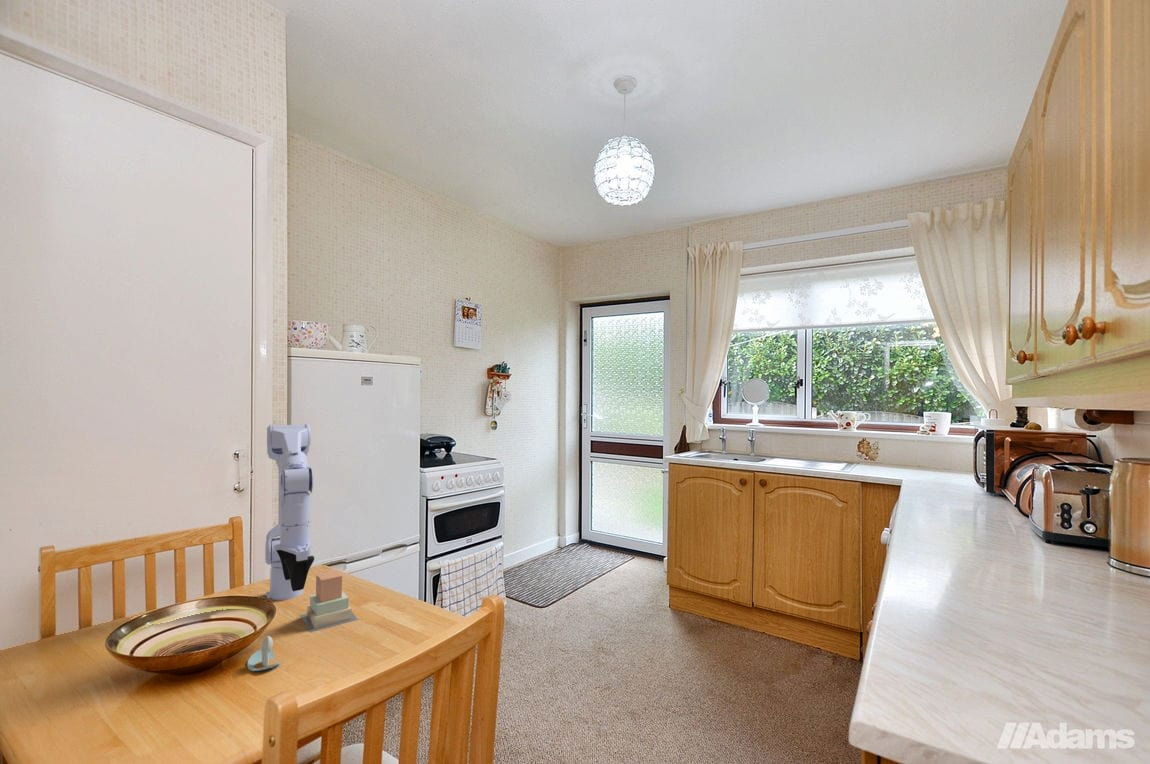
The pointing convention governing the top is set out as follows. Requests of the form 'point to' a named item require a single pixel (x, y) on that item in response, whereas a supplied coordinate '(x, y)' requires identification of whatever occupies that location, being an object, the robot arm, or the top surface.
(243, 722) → the top surface
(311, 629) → the slate board
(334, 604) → the sage slab
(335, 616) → the oak slab
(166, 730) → the top surface
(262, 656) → the pacifier
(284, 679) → the top surface
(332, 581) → the terracotta block
